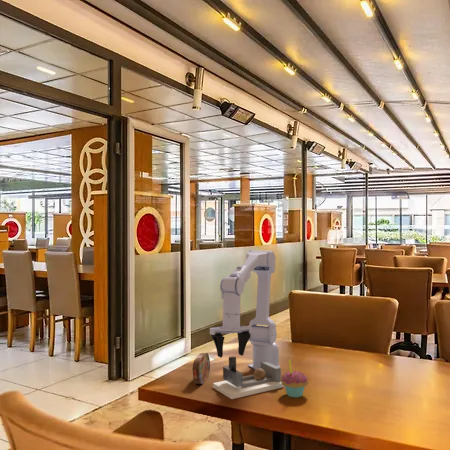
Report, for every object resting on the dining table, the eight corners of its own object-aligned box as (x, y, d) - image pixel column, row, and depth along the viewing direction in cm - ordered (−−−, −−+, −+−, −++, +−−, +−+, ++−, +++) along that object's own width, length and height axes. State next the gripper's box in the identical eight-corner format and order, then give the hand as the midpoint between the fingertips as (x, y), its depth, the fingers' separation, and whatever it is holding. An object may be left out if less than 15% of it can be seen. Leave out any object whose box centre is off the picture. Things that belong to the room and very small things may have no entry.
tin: (200, 387, 152) (200, 362, 152) (191, 387, 153) (190, 361, 153) (210, 373, 167) (210, 350, 167) (202, 372, 168) (202, 349, 168)
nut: (261, 377, 157) (261, 365, 157) (267, 381, 153) (267, 369, 153) (251, 379, 155) (251, 367, 155) (257, 383, 151) (257, 371, 151)
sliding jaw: (228, 377, 153) (228, 353, 153) (243, 385, 146) (242, 360, 146) (222, 378, 152) (222, 354, 152) (236, 387, 144) (236, 361, 144)
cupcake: (291, 401, 139) (290, 362, 139) (275, 392, 147) (275, 355, 147) (313, 396, 143) (313, 358, 143) (297, 388, 151) (297, 351, 151)
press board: (262, 376, 162) (262, 359, 162) (283, 387, 152) (283, 369, 152) (213, 387, 152) (212, 369, 152) (231, 399, 142) (231, 379, 142)
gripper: (216, 316, 143) (215, 360, 143) (256, 314, 150) (256, 356, 149) (207, 313, 150) (206, 355, 149) (246, 311, 156) (245, 352, 155)
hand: (230, 355), depth 149 cm, fingers open, 7 cm apart
